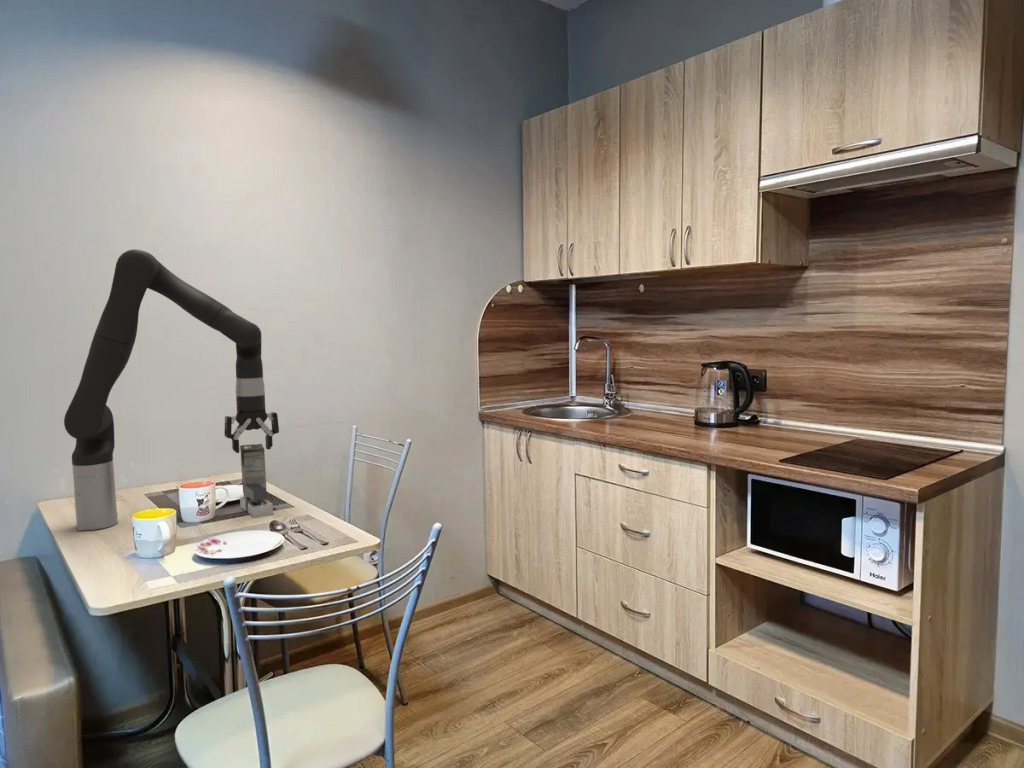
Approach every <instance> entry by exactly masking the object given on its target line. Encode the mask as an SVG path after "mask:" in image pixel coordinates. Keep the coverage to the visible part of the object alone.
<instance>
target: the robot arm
mask: <svg viewBox="0 0 1024 768" xmlns="http://www.w3.org/2000/svg"><path fill="white" fill-rule="evenodd" d="M111 283H112V284H111V288H110V292H109V296H108V300H106V301H107V302H106V304H105V306H104V308H103V311H102V313H101V315H100V319H99V320H98V324H97V327H96V328H95V331H94V334H93V337H92V341H91V343H90V346H89V350H88V354H87V358H86V360H85V363H84V367H83V370H82V375H81V378H80V380H79V384H78V387H77V389H76V391H75V393H74V395H73V398H72V400H71V401H70V404H69V406H68V408H67V410H66V413H65V415H64V418H63V424H64V429H65V431H66V432H67V433H68V434H67V435H69V436H70V437H72V438H74V439H75V448H74V450H73V452H72V454H71V464H72V476H73V479H72V480H73V489H74V491H73V496H74V498H73V499H74V510H75V520H76V522H75V523H76V527H77V528H76V529H77V531H78V532H80V531H81V532H82V531H94V530H102V529H106V528H109V527H113V526H115V525H117V524H118V522H119V520H118V507H117V506H118V505H117V494H116V492H117V491H116V481H115V470H114V469H115V468H114V455H113V454H114V450H115V443H116V442H115V424H114V423H115V422H114V416H113V413H112V410H111V409H110V407H109V406H108V405H107V402H108V399H109V395H110V392H111V390H112V389H113V387H114V385H115V383H116V382H117V380H118V379H119V377H120V376H121V375H122V373H123V371H124V369H125V368H126V366H127V364H128V362H129V361H130V358H131V355H132V351H133V348H134V346H135V342H136V338H137V334H138V333H137V332H138V324H139V313H140V307H141V304H142V302H143V300H144V296H145V295H146V292H147V289H149V290H150V291H153V292H155V293H158V294H160V295H161V296H163V297H165V298H166V299H168V300H169V301H171V302H173V303H174V304H176V305H177V306H179V308H181V309H182V310H183V311H185V312H186V313H188V314H190V315H191V316H192V317H193V318H195V319H197V320H198V321H199V322H201V323H203V324H205V325H206V326H208V327H210V328H211V329H213V330H215V331H217V332H219V333H221V335H223V336H225V337H226V338H228V339H229V340H231V342H233V343H235V350H236V351H235V352H236V360H235V380H236V381H235V398H236V399H235V401H236V415H235V416H234V415H233V416H229V415H226V416H224V437H225V438H227V439H231V444H232V445H231V446H232V450H233V451H234V453H236V454H238V453H239V454H240V439H239V438H240V437H241V435H242V434H243V433H244V432H245V431H252V430H260V429H261V431H262V432H264V433H265V434H266V435H264V436H265V449H266V450H271V448H272V447H273V436H274V435H275V434H279V432H280V428H279V427H280V425H279V419H278V413H277V412H274V411H271V412H269V413H267V412H266V392H265V391H266V389H265V388H266V387H265V382H264V366H263V361H262V330H261V329H260V327H259V326H258V325H257V324H255V323H254V322H251V321H249V320H248V319H245V318H244V317H242V316H240V315H239V314H237V313H235V312H234V311H232V309H230V308H229V307H228V306H226V305H225V304H223V303H221V302H220V301H218V300H217V299H215V298H214V297H212V296H210V295H208V294H206V293H205V292H203V291H201V290H200V289H198V288H196V287H194V286H192V285H191V284H190V283H187V282H186V281H184V280H183V279H181V278H180V277H179V276H177V275H175V274H174V273H173V272H172V271H170V269H168V267H165V265H163V264H162V263H161V262H160V261H159V260H158V259H157V258H156V257H155V256H154V255H153V254H151V253H149V252H148V251H145V250H142V249H135V248H134V249H129V250H126V251H125V252H123V253H121V254H120V255H119V256H118V258H117V261H116V263H115V268H114V274H113V279H112V282H111ZM267 419H269V421H271V429H270V428H269V427H268V425H267V424H266V423H265V422H266V421H267ZM235 421H236V422H237V424H238V425H237V427H236V428H235V430H234V432H232V427H233V426H232V425H233V424H234V423H235ZM233 451H232V452H233Z"/></svg>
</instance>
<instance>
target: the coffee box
mask: <svg viewBox="0 0 1024 768" xmlns="http://www.w3.org/2000/svg"><path fill="white" fill-rule="evenodd" d="M239 451H240V462H241V463H240V465H241V466H240V467H241V478H242V479H241V481H242V493H243V494H244V495H243V497H245V496H246V495H245V492H244V485H245V484H251V483H258V484H259V485H261V486H263V487H264V488H266V489H267V474H266V473H267V472H266V458H265V456H266V454H265V447H264V446H263V444H262V443H259V444H242V445H239ZM267 492H268V491H266V495H267ZM267 496H268V495H267ZM266 500H268V498H267V499H266Z"/></svg>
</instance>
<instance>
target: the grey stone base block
mask: <svg viewBox="0 0 1024 768" xmlns="http://www.w3.org/2000/svg"><path fill="white" fill-rule="evenodd" d="M239 497H240V498H239V499H240V500H239V503H240V508H241V509H242V510H243V511H245V512H247V513H248V515H250V516H251V517H252V518H260V517H264V516H271V515H273V514H274V509H273V508H274V507H273V506H274V505H273V503H272V502H271V501H269V500H268V499H267V500H264V502H260V505H255V501H253V500H248V497H247V496H245V497H244V496H239Z"/></svg>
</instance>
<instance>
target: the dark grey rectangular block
mask: <svg viewBox="0 0 1024 768" xmlns="http://www.w3.org/2000/svg"><path fill="white" fill-rule="evenodd" d="M244 492H245V495H246V496H247V497H248V500H253V501H255V505H260V502H264V500H266V499H267V500H268V497H267V496H268V495H266V492H267V487H266V488H264V487H263V486H261V485H259V484H258V483H251V484H245V485H244Z"/></svg>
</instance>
